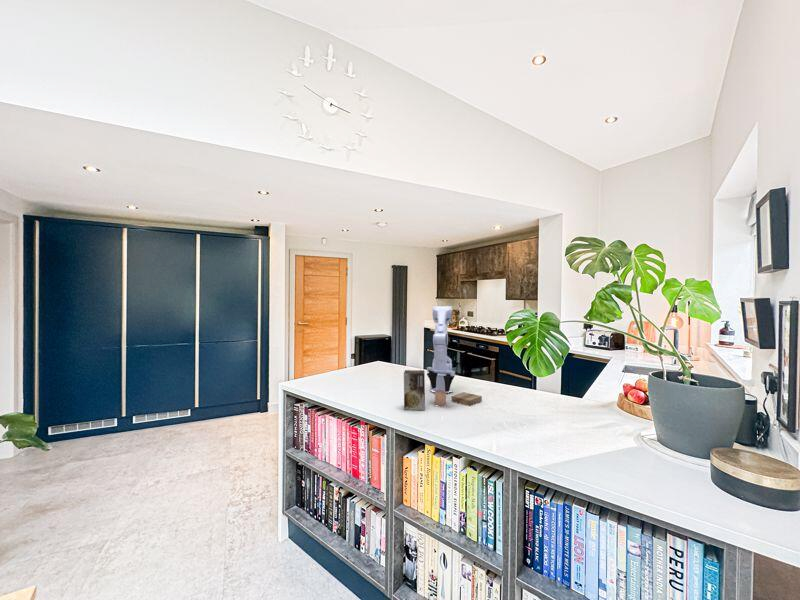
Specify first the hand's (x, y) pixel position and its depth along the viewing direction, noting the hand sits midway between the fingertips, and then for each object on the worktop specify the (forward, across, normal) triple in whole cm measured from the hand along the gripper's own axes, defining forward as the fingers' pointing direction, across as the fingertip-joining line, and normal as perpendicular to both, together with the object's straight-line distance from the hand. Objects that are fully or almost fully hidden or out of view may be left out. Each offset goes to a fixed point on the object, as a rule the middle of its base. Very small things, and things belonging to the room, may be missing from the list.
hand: (440, 389), depth 160 cm
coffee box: (+7, -5, -12) cm, 15 cm away
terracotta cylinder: (+7, 0, 0) cm, 7 cm away
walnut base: (+7, +6, +12) cm, 15 cm away
